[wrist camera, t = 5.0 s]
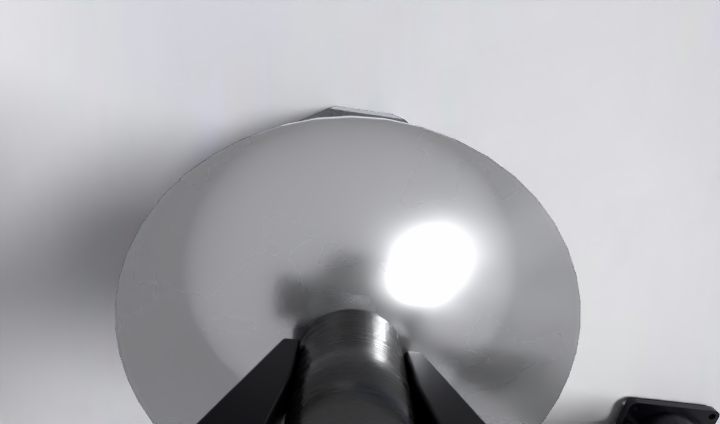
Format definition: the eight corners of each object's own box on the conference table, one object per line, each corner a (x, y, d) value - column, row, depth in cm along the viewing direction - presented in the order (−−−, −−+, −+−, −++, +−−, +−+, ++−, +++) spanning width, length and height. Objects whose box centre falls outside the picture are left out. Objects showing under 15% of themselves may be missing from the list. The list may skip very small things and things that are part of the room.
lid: (599, 147, 9) (949, 220, 4) (489, 467, 13) (591, 745, 7) (146, 81, 9) (-216, 56, 3) (160, 439, 12) (1, 723, 7)
